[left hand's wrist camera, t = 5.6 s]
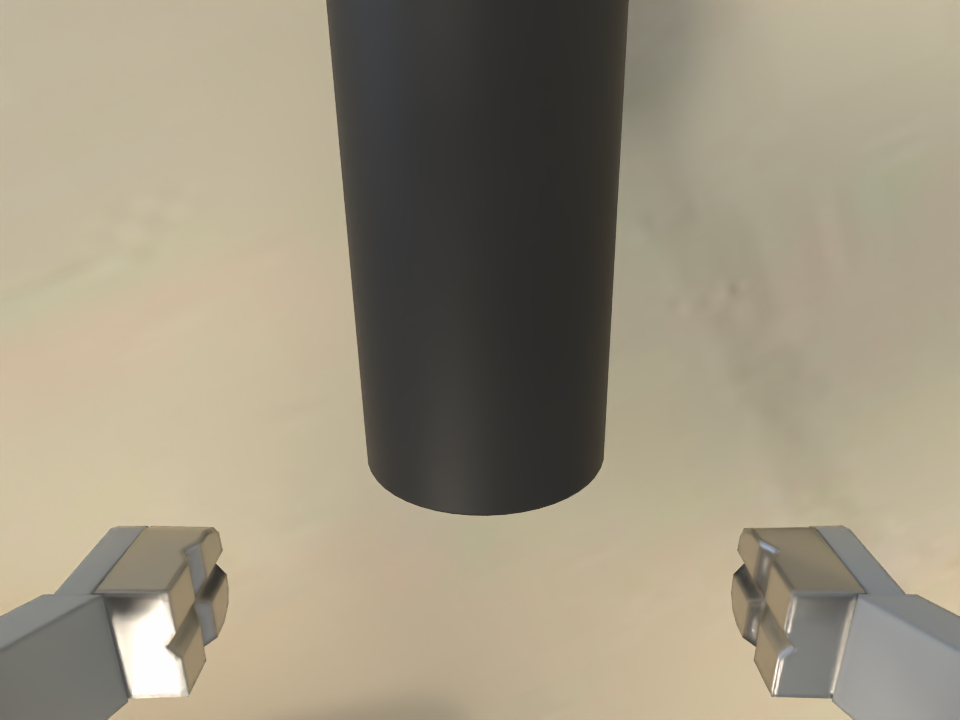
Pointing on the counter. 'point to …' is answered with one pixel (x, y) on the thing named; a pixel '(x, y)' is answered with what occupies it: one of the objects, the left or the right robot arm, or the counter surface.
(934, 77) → the counter surface
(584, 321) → the rod
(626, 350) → the counter surface
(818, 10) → the counter surface
